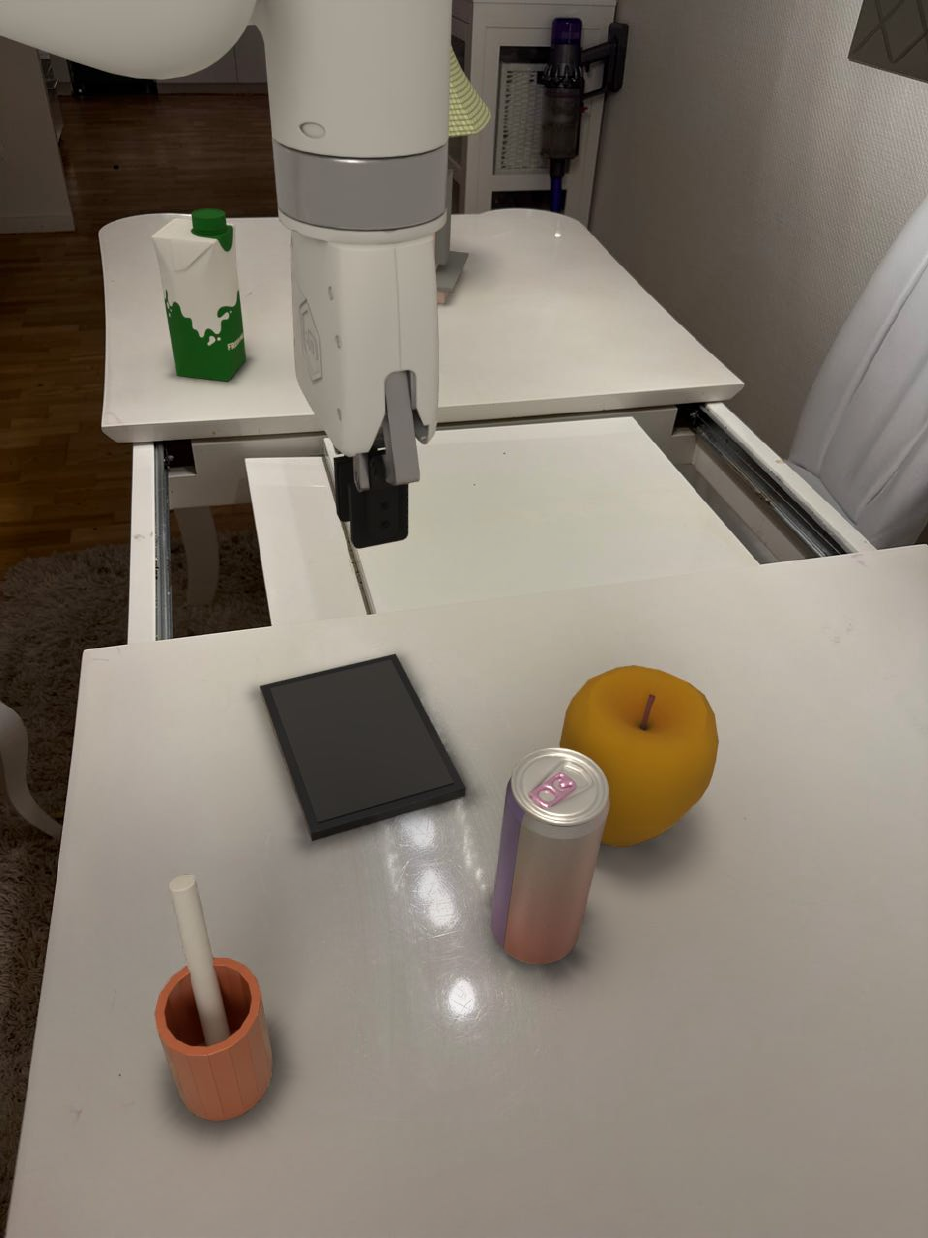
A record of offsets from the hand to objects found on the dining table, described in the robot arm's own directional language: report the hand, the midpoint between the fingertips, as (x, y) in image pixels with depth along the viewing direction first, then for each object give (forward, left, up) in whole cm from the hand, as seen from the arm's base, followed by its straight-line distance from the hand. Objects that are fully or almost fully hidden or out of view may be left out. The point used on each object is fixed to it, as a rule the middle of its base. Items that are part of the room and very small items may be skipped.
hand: (372, 526), depth 52 cm
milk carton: (+3, +78, -26) cm, 82 cm away
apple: (+17, -7, -26) cm, 32 cm away
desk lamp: (+38, +101, -26) cm, 111 cm away
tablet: (+1, +7, -26) cm, 27 cm away
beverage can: (+7, -13, -26) cm, 30 cm away
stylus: (-14, -15, -25) cm, 32 cm away
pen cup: (-14, -15, -26) cm, 33 cm away
